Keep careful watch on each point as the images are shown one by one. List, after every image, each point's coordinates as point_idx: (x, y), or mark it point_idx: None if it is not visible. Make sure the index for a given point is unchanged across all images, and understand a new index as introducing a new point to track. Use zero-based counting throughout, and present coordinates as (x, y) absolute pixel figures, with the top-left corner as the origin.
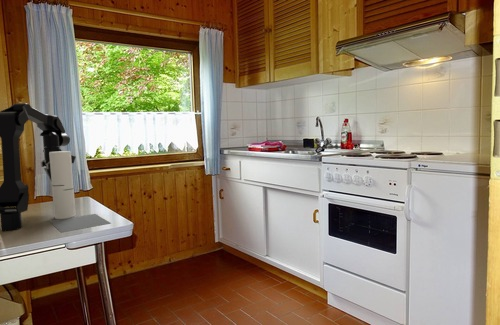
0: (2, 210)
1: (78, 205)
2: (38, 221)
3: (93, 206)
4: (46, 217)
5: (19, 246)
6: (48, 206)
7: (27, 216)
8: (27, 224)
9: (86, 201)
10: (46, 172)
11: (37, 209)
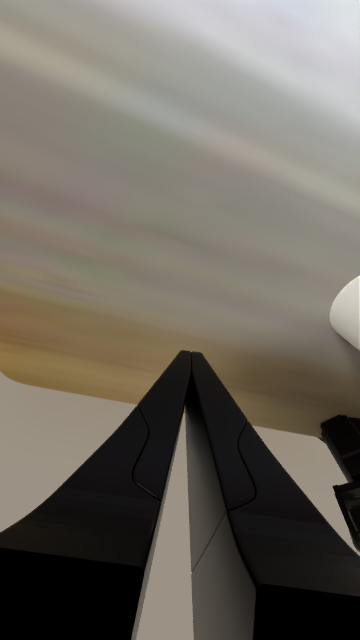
0: (358, 497)
1: (165, 145)
2: (338, 380)
3: (305, 65)
4: (305, 351)
5: None
6: (68, 278)
7: (220, 378)
8: (341, 405)
9: (36, 5)
10: (128, 581)
11: (111, 327)
